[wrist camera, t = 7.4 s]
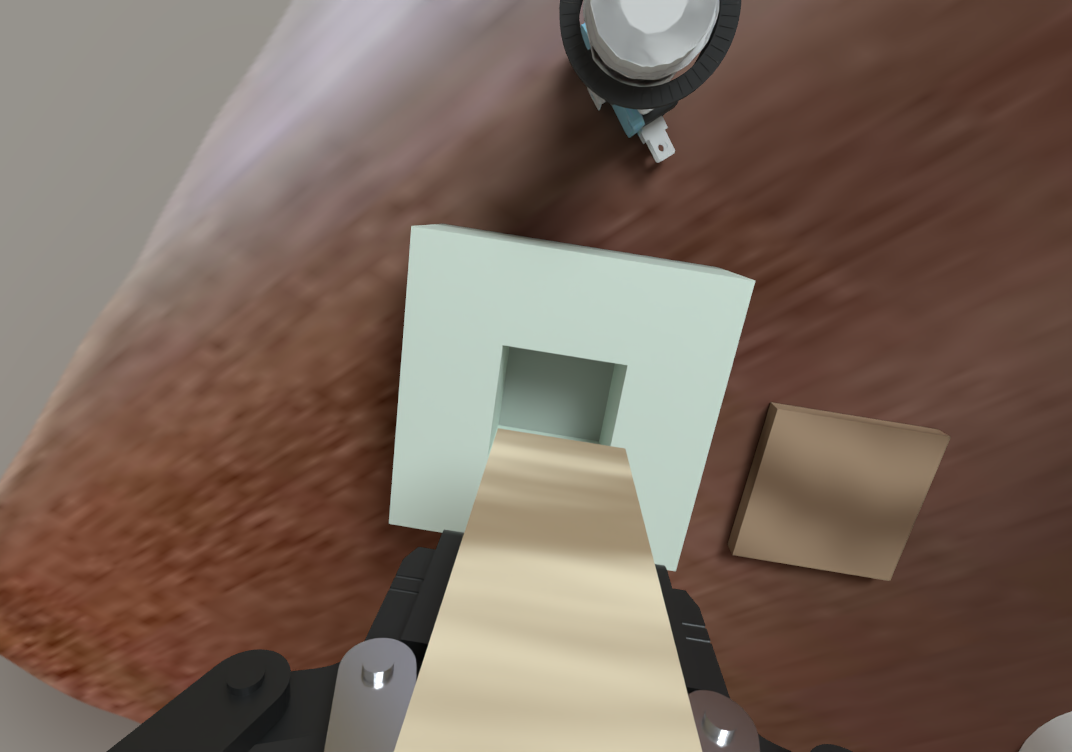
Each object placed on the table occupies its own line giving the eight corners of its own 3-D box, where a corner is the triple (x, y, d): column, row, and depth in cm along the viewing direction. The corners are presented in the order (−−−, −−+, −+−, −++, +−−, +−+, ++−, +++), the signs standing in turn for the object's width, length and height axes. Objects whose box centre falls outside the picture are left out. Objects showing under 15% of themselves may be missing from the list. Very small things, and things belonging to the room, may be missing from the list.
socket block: (442, 223, 27) (411, 225, 21) (718, 267, 26) (755, 280, 21) (419, 470, 31) (388, 523, 25) (657, 509, 31) (675, 571, 25)
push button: (712, 129, 25) (803, 76, 15) (611, 191, 26) (636, 178, 16) (645, -13, 23) (700, -172, 14) (541, 60, 24) (523, -41, 15)
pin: (498, 428, 16) (339, 923, 5) (625, 448, 16) (764, 996, 5) (482, 538, 18) (326, 1145, 6) (601, 557, 18) (669, 1203, 6)
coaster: (770, 402, 28) (777, 409, 27) (938, 429, 28) (950, 436, 27) (727, 544, 31) (732, 554, 30) (879, 569, 31) (889, 581, 30)
